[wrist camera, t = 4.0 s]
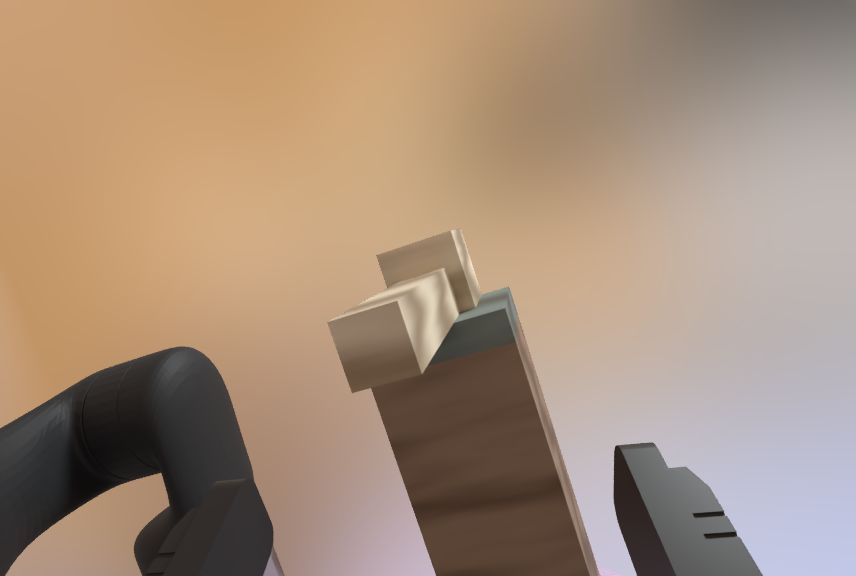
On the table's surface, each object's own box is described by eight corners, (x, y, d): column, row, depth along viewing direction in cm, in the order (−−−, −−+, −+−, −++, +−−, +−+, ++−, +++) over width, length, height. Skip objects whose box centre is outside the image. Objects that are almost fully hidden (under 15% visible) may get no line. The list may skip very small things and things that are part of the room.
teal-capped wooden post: (653, 777, 29) (505, 308, 27) (509, 785, 31) (358, 350, 29) (626, 659, 37) (509, 286, 35) (511, 672, 39) (392, 321, 37)
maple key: (446, 367, 18) (404, 242, 18) (329, 398, 20) (287, 281, 19) (482, 294, 35) (460, 228, 35) (417, 313, 36) (396, 249, 36)
